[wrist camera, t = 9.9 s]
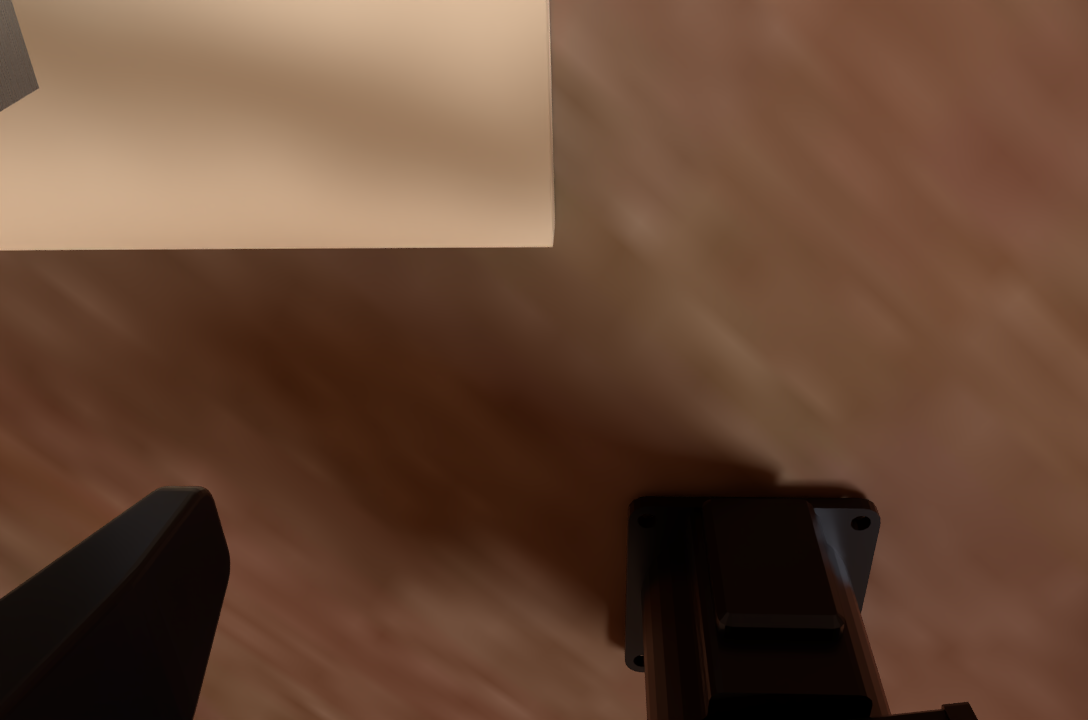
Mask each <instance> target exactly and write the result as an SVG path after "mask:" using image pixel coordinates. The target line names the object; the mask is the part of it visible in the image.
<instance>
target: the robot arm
mask: <svg viewBox="0 0 1088 720" xmlns="http://www.w3.org/2000/svg"><path fill="white" fill-rule="evenodd" d="M643 514H652V515H654V516H652V517H649V518H644V517H641V515H643ZM858 516H865V517H864V518H862V519H860V520H853V519H854V518H856V517H858ZM879 528H880V516H879V513H878V510H877V508H876V506H875V505H874V503H873V502H871V501H869V500H868V499H862V498H776V497H666V496H646V497H640V498H638V499H636V500H634V501H633V502H632V503H631V504H630V505H629V508H628V529H627V572H626V615H625V662H626V665H627V666H628V667H629V668H630V669H631V670H634V671H637V672H645V686H646V706H647V720H978V719H977V717H976V715H975V714H974V712H973V710H972V708H971V706H970V704H969V703H968V702H963V703H953V704H944V705H942V709H939V710H930V711H920V712H911V713H902V714H893V715H891V713H890V709H889V706H888V703H887V699H886V696H885V693H884V689H883V686H882V683H881V679H880V676H879V673H878V670H877V666H876V663H875V660H874V656H873V653H872V650H871V646H870V643H869V640H868V636H867V633H866V630H865V627H864V623H863V620H862V617H861V611H862V606H863V602H864V597H865V593H866V588H867V583H868V579H869V574H870V570H871V565H872V560H873V556H874V551H875V547H876V542H877V537H878V533H879ZM229 575H230V555H229V550H228V547H227V543H226V540H225V536H224V533H223V529H222V526H221V522H220V519H219V515H218V512H217V508H216V505H215V501H214V499H213V497H212V495H211V493H210V492H209V491H208V490H207V489H206V488H203V487H200V486H165V487H161V488H158V489H156V490H155V491H153V492H151V493H150V494H149V495H147V496H146V497H144V498H143V499H142V500H140V501H139V502H137V503H136V504H134V505H133V506H132V507H130V508H129V509H127V510H126V511H124V512H123V513H122V514H120V515H119V516H117V517H116V518H115V519H113V520H112V521H110V522H109V523H107V524H106V525H105V526H103V527H102V528H100V529H99V530H97V531H96V532H95V533H93V534H92V535H90V536H89V537H88V538H86V539H85V540H83V541H82V542H80V543H79V544H78V545H76V546H75V547H73V548H72V549H71V550H69V551H68V552H66V553H65V554H63V555H62V556H61V557H59V558H58V559H56V560H55V561H53V562H52V563H51V564H49V565H48V566H46V567H45V568H44V569H42V570H41V571H39V572H38V573H36V574H35V575H34V576H32V577H31V578H29V579H28V580H26V581H25V582H24V583H22V584H21V585H19V586H18V587H17V588H15V589H14V590H12V591H11V592H9V593H8V594H7V595H5V596H4V597H2V598H1V599H0V720H193V718H194V714H195V711H196V707H197V703H198V699H199V695H200V691H201V687H202V683H203V679H204V675H205V672H206V668H207V664H208V660H209V656H210V652H211V648H212V644H213V640H214V636H215V632H216V628H217V624H218V620H219V616H220V612H221V608H222V604H223V600H224V597H225V593H226V589H227V585H228V580H229ZM640 655H644V656H640Z"/></svg>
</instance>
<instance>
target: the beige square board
mask: <svg viewBox="0 0 1088 720" xmlns="http://www.w3.org/2000/svg"><path fill="white" fill-rule="evenodd" d="M12 4H13V7H14V10H15V13H16V16H17V19H18V23H19V26H20V29H21V32H22V35H23V38H24V42H25V45H26V48H27V51H28V54H29V57H30V60H31V64H32V67H33V70H34V73H35V76H36V79H37V83H38V86H39V89H37V90H35V91H34V92H32V93H30V94H29V95H27V96H25V97H24V98H22V99H20V100H19V101H17V102H16V103H14V104H12V105H11V106H9V107H7V108H6V109H4V110H2V111H1V112H0V250H134V249H299V248H464V247H553V239H554V228H555V204H554V166H553V128H552V91H551V53H550V15H549V0H12Z"/></svg>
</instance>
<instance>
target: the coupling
mask: <svg viewBox="0 0 1088 720" xmlns="http://www.w3.org/2000/svg"><path fill="white" fill-rule="evenodd" d="M37 89H39V86H38V83H37V79H36V76H35V73H34V70H33V67H32V64H31V60H30V57H29V54H28V51H27V48H26V45H25V42H24V38H23V35H22V32H21V29H20V26H19V23H18V19H17V16H16V13H15V10H14V7H13V4H12V0H0V112H1V111H2V110H4V109H6V108H7V107H9V106H11V105H12V104H14V103H16V102H17V101H19V100H20V99H22V98H24V97H25V96H27V95H29V94H30V93H32V92H34V91H35V90H37Z"/></svg>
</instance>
